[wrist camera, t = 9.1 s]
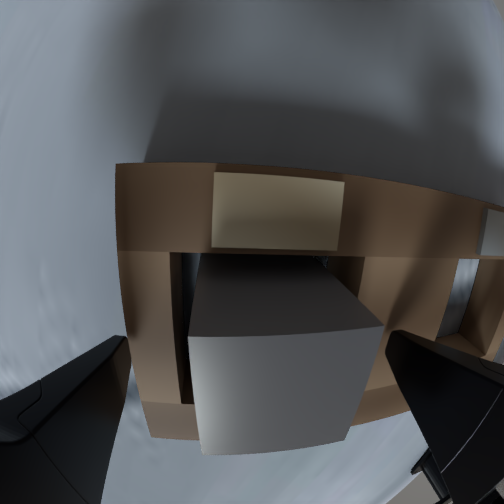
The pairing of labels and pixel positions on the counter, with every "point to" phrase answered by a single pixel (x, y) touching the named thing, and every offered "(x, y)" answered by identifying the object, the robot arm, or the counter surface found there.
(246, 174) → the socket bar
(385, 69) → the counter surface
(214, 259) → the plug
